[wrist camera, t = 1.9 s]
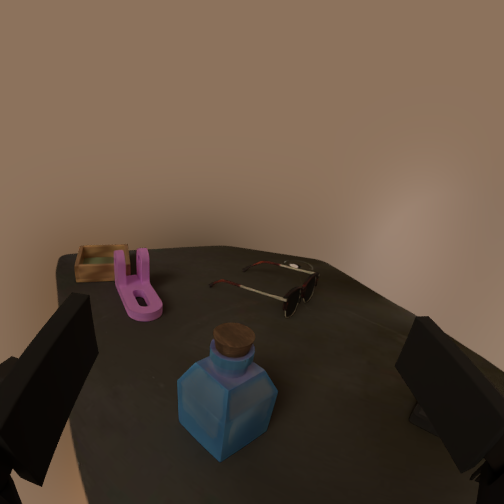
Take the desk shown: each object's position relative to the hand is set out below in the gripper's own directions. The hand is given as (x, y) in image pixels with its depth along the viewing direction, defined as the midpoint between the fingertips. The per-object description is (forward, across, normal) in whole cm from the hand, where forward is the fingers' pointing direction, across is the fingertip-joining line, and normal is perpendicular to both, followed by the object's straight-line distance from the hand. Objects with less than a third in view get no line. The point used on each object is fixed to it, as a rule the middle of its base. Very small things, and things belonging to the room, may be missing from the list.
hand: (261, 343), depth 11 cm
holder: (+43, -24, -18) cm, 53 cm away
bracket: (+33, -14, -19) cm, 41 cm away
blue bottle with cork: (+10, 0, -19) cm, 21 cm away
